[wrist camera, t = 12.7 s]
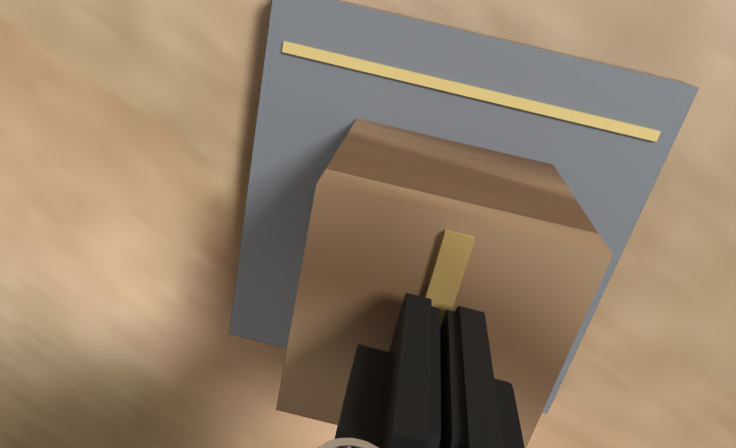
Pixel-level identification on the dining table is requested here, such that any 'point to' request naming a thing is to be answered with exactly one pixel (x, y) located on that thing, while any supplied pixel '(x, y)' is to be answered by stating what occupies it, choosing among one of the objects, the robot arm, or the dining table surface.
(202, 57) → the dining table surface
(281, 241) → the plate
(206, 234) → the dining table surface
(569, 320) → the wooden cube with stripe
